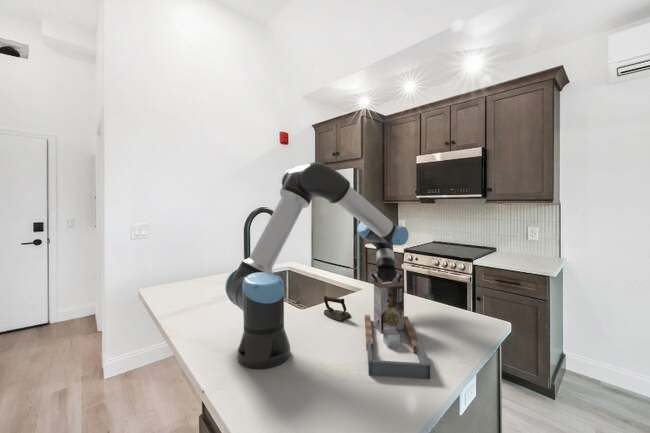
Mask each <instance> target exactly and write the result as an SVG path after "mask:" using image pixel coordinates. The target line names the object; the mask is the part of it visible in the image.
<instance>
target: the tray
mask: <svg viewBox="0 0 650 433" xmlns="http://www.w3.org/2000/svg"><path fill="white" fill-rule="evenodd" d="M372 352H373V351H372V349H371V339H367V352H366V353H367V354H366V355H367V368H368V376H375V377H377V376H378V377H379V376H380V377H395V378H409V379H410V378H412V379H428V380H430V379H431V364H430V362H429V360H428V357H427V354H426V353H425V351H424V348H423V346H422V343H421V342H420V341H418V342H416V353H415V354H416V356H417V359H418V361H419V362H412V361H411V362H409V361H395V360H394V361H393V360H392V361H391V360H377V359H376V360H374V359H373V353H372Z"/></svg>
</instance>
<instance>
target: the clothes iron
mask: <svg viewBox="0 0 650 433" xmlns="http://www.w3.org/2000/svg"><path fill="white" fill-rule="evenodd" d="M323 300H324V304H325V307H326V309H324V310H323V314H324V316H325V317H326V318H329V319H331V320H332V321H336V322H337V323H339V322H340V323H343V322H345V321H346V320H347V319H350V318H351V317H352V315H351V314H350V312H348V311H347V307H346V303H345V298H336V297H332V296H328V295H324V297H323ZM329 302H330V303H331V302H332V303H337V304H341V306H342V310H339V309H334V308H333V307H331V306H330V305H329Z"/></svg>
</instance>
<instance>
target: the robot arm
mask: <svg viewBox="0 0 650 433" xmlns="http://www.w3.org/2000/svg"><path fill="white" fill-rule="evenodd" d="M279 195H280V199H279V201H278V202H277V205H276V207H275V209H274V210H273V212H272V214H271V215H270V216H271V217H269V220H268V221H267V224H266V226H265V227H264V229H263V231H262V233H261V235H260V237H259V238H258V240H257V242H256V244H255V246H254V248H253V250H252V252H251V253H250V255H249V257H248V258H246V259H245V258H244V259H243V260H242V261H241V262H240V264H239V266H238V267H237V269H235V270H233V271H232V272H231V273H230V274H229V275H228V277H227V278H226V280H225V285H224V287H225V288H224V290H225V293H226V296H227V297H228V299H229V301H230V302H231V303H232V304H233V305H235V306H237V307H238V308H239V309H240V310H242V312H243V332H242V336H241V338H240V339H241V340H240V343H239V346H238V348H237V360H238V363H239V364H240V365H242V366H243V367H246V368H249V369H258V370H259V369H269V368H270V369H271V368H273V367H276V366H278V365H281V364H282V363H284V362H286V361H287V360H288V358H290V356H291V344H290V342H289V338H288V335H287V332H286V329H285V288H284V287H285V286H284V280H283V278H282V277H281V276H279V275H278V274H276V273H274V271H273V267H274V265H275V264H276V261H277V260H278V259H279V256H280V254H281V253H282V250H283V249H284V246H285V244H286V242H287V240H288V238H289V236H290V234H291V232H292V230H293V229H294V226H295V224H296V223H297V220H298V219H299V216H300V215H301V212H302V211H303V209H305V208H306V209H307V208H308V207H309V206H310V204H311V202H312V200H313V198H315V197H316V198H317V197H319V198H323V199H325V200H327V201H329V202H330V204H337V205H338V206H340V207H341V208H342V209H344V210H345V211H346V212H348V214H350V215H351V216H353V217H354V218H355V219H357V220H358V221H359V223H358V226H357V228H356V230H357V233H358V235H360V236H361V238H362V239H364V240H365V241H367V242H368V243H370V244H371V245H372V246H373V247H375V252H376V256H375V257H376V272H375V273H372V274H371V275H370V276H371V277H370V279H371V280H372V282H373V284H374V283H378V282H379V280H380V282H389V281H395V280H394V279H396V281H397V282H399V283H400V284H401V281H402V280H403V278H404V277H403V275H404V274H399V273H398V271H397V270H396V263H395V261H396V260H395V253H394V252H395V251H394V246H403V245H405V244H406V243H407V242H408V240H409V236H410V235H409V231H408V229H407V227H405V226H402V225H396V224H395V223H394V222H393V221H392V220H390V219H389V218H388V217H386V215H384V214H383V213H382V212H381V211H380V210H379V209H378V208H377V207H376V206H374V205H373V204H372V203H371V202H369V201H368V200H367V199H366V198H365V197H364V196H362V195H361V194H360V193H359V192H358V191H356V190H355V189H354V188H353V187H352V186H351V182H350V180H349V179H347V178H346V177H345V176H344V175H342V174H341V173H340V172H339V171H337V170H335V169H334V168H332V167H331V166H330V165H327V164H325V163H322V162H318V161H317V162H310V163H305V164H298V165H294V166H292V167H290V168H289V169H287V170H286V171H285V172H284V174H283V176H282V178H281V188H280V190H279ZM378 279H379V280H378Z"/></svg>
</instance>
